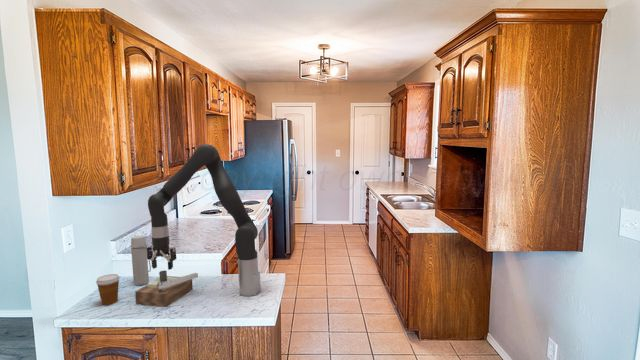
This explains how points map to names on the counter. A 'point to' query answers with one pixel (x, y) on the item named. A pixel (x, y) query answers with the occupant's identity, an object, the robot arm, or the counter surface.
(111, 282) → the disposable coffee cup
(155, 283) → the lid
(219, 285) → the counter surface
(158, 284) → the latch bar
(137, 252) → the water bottle
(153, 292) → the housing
